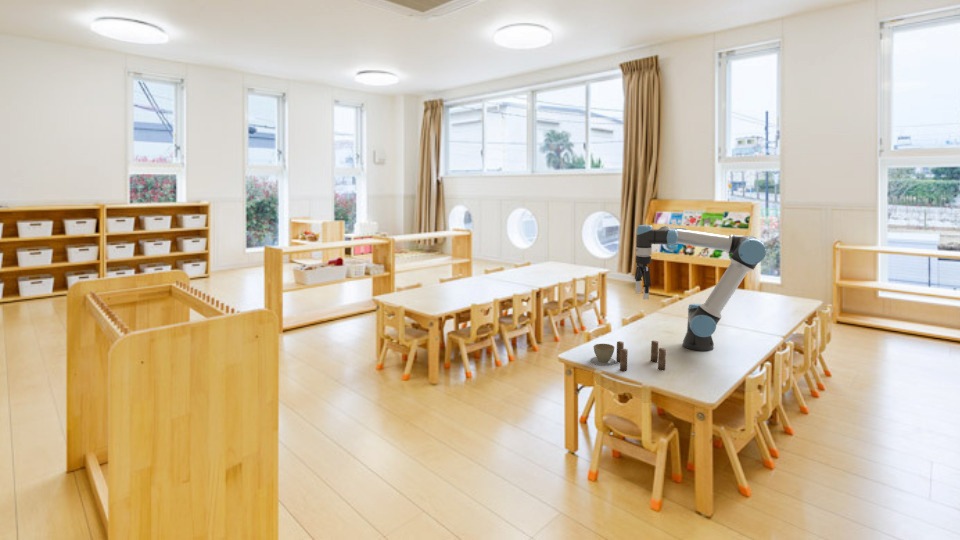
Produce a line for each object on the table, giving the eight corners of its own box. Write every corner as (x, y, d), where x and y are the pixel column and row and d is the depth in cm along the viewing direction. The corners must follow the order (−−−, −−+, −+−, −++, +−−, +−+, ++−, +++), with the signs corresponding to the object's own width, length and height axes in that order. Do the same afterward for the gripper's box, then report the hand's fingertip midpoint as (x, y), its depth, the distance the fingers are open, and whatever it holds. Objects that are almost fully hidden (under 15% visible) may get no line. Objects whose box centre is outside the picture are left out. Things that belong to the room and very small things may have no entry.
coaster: (612, 357, 263) (612, 356, 263) (618, 365, 252) (618, 364, 252) (588, 357, 264) (588, 356, 264) (593, 365, 252) (593, 365, 252)
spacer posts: (656, 359, 258) (657, 340, 257) (666, 370, 244) (667, 350, 242) (613, 360, 259) (613, 341, 257) (620, 371, 244) (621, 350, 242)
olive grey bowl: (598, 355, 265) (599, 342, 263) (617, 359, 258) (617, 345, 257) (589, 361, 257) (589, 347, 256) (608, 365, 251) (608, 351, 249)
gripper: (629, 252, 278) (628, 291, 281) (643, 259, 253) (641, 302, 257) (643, 251, 277) (642, 290, 281) (658, 259, 253) (656, 301, 257)
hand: (641, 296), depth 269 cm, fingers open, 13 cm apart
